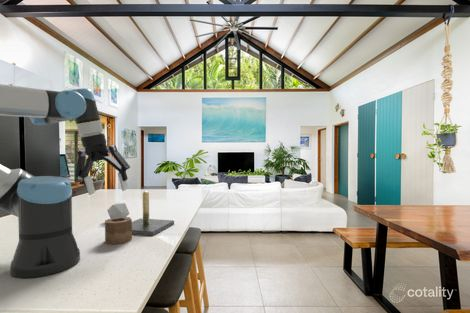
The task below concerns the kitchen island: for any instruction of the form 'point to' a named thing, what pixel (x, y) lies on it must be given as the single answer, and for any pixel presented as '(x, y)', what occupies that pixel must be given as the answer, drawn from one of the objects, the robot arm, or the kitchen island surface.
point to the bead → (118, 230)
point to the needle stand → (149, 221)
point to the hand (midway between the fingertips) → (108, 191)
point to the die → (118, 210)
